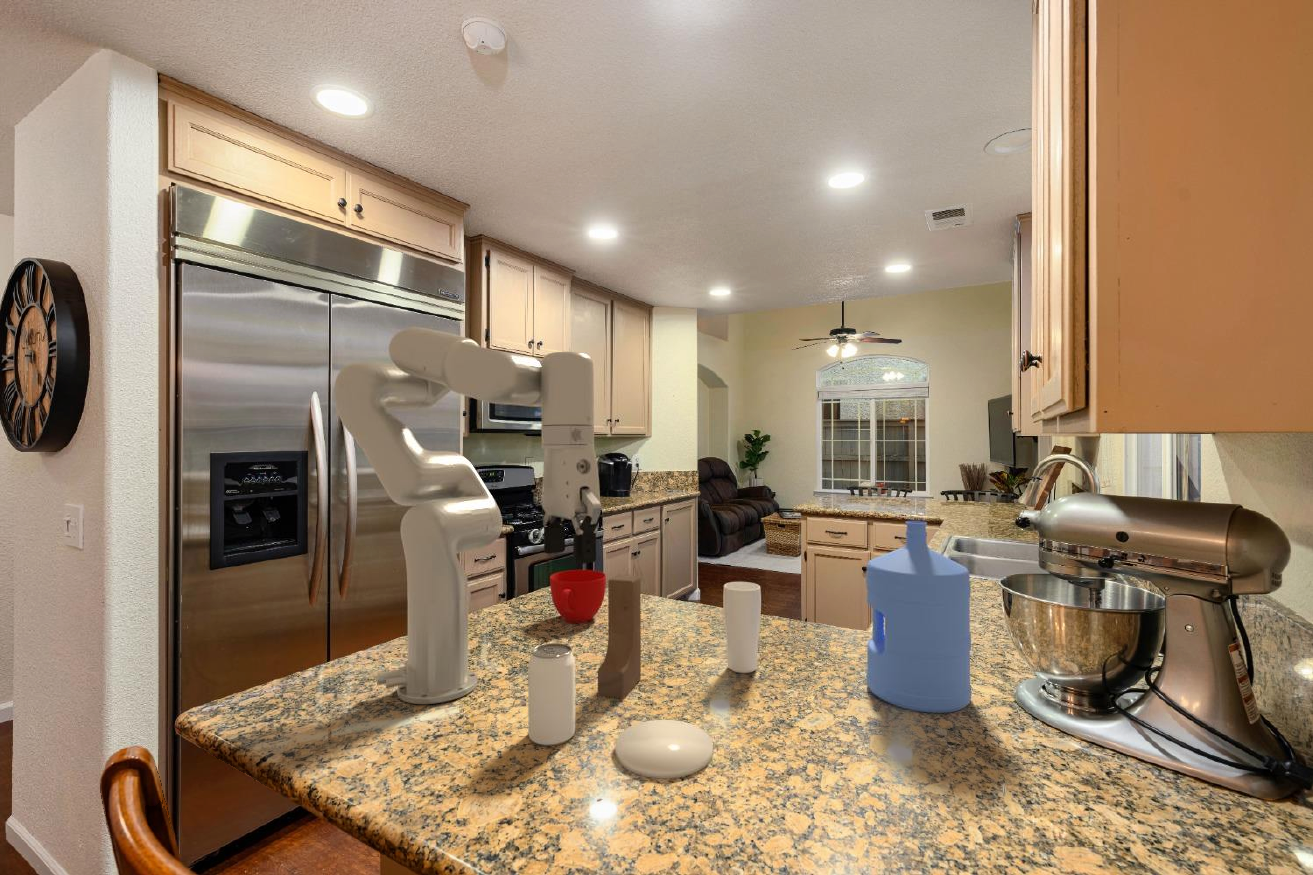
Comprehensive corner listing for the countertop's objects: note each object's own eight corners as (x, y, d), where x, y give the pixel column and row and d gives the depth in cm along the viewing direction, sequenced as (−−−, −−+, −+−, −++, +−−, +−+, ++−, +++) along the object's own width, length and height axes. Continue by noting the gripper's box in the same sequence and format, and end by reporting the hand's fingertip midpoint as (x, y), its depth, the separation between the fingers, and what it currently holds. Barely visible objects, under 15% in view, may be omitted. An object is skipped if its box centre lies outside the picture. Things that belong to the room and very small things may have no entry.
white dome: (642, 789, 69) (642, 781, 69) (600, 740, 81) (600, 732, 81) (732, 761, 75) (732, 753, 75) (681, 719, 87) (681, 712, 87)
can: (535, 751, 78) (535, 661, 78) (523, 730, 84) (523, 646, 84) (581, 740, 81) (581, 653, 81) (566, 720, 87) (566, 639, 87)
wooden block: (622, 700, 93) (622, 587, 93) (596, 697, 94) (596, 585, 95) (641, 678, 102) (641, 575, 102) (617, 675, 103) (617, 573, 103)
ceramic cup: (535, 631, 127) (535, 585, 127) (560, 609, 144) (560, 568, 144) (593, 634, 125) (592, 587, 125) (612, 611, 142) (611, 570, 142)
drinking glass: (719, 672, 104) (718, 588, 104) (729, 659, 111) (728, 580, 111) (756, 678, 102) (756, 592, 102) (764, 664, 108) (764, 583, 108)
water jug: (983, 691, 96) (982, 521, 96) (953, 726, 85) (952, 532, 85) (888, 667, 107) (887, 513, 107) (850, 694, 95) (849, 522, 95)
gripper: (621, 437, 79) (622, 563, 79) (565, 439, 94) (566, 546, 94) (571, 438, 75) (572, 571, 75) (520, 439, 89) (521, 551, 89)
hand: (569, 557), depth 84 cm, fingers open, 9 cm apart
